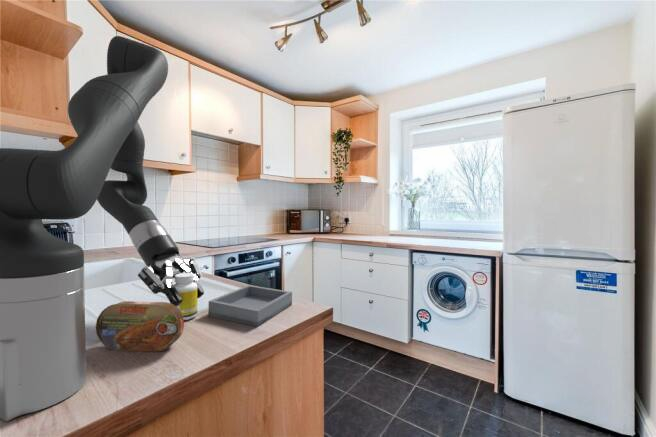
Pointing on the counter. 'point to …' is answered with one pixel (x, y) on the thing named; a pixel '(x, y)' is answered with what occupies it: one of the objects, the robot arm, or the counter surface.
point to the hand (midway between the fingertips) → (190, 299)
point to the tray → (250, 305)
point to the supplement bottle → (186, 294)
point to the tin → (139, 326)
